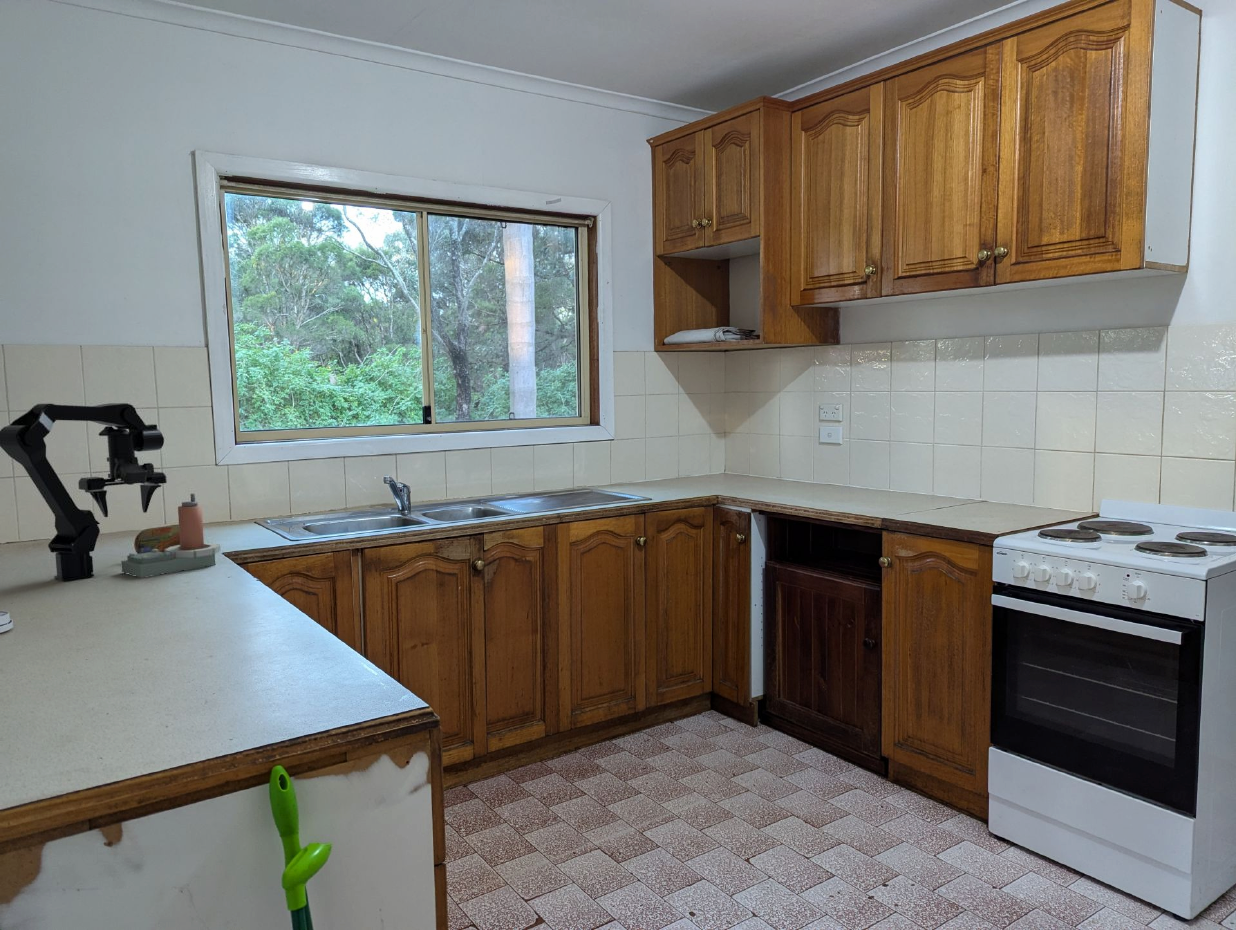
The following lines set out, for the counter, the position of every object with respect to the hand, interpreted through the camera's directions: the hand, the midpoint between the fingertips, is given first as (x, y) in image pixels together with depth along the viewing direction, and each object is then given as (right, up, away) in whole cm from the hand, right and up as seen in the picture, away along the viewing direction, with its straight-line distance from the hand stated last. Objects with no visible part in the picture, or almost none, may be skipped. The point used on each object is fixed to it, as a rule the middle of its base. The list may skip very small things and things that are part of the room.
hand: (125, 514), depth 215 cm
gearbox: (+14, -13, -2) cm, 19 cm away
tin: (+4, -12, +12) cm, 18 cm away
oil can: (+16, -10, +1) cm, 19 cm away
